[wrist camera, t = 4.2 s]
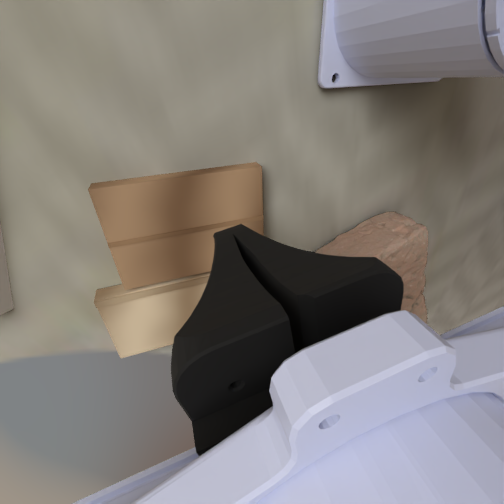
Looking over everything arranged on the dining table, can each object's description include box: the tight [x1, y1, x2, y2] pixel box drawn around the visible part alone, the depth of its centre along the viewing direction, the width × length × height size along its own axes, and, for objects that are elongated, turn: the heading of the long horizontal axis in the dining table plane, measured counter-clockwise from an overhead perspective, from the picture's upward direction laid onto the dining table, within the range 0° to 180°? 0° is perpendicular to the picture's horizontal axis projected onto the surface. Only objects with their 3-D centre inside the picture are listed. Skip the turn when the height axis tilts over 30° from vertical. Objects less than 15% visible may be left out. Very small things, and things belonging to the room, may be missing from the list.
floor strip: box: [94, 271, 211, 358], centre depth 22 cm, size 13×6×1 cm, turn 92°
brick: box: [315, 212, 428, 324], centre depth 27 cm, size 17×8×5 cm, turn 25°
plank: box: [88, 162, 264, 290], centre depth 19 cm, size 10×7×1 cm
